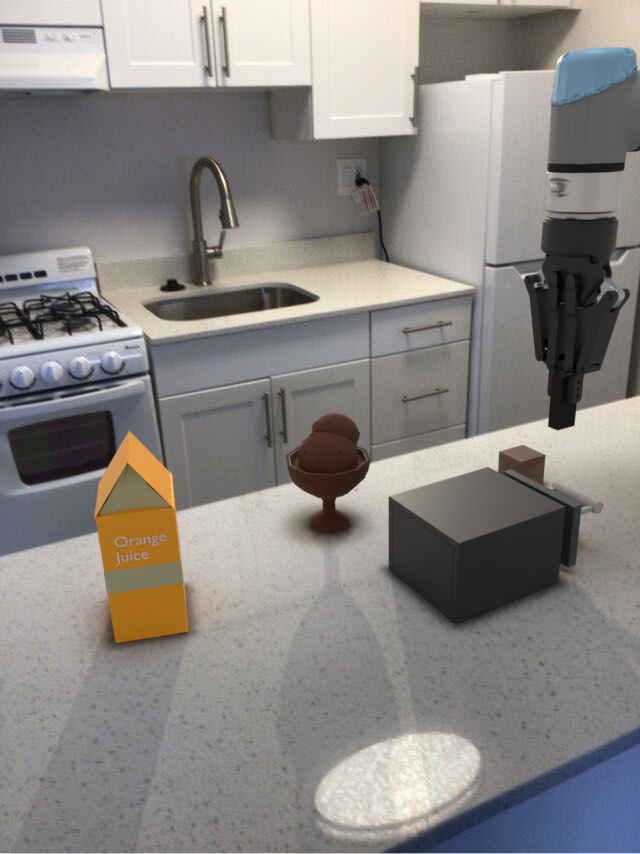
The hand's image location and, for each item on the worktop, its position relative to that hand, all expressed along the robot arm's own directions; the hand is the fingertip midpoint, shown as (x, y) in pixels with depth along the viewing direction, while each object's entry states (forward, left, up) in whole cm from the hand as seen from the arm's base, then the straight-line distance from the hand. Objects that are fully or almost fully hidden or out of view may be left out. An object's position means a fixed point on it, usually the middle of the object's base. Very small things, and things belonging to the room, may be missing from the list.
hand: (561, 426), depth 87 cm
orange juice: (+47, +11, -16) cm, 51 cm away
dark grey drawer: (+5, +3, -15) cm, 16 cm away
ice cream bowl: (+27, -8, -16) cm, 32 cm away
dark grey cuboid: (+11, +6, -16) cm, 20 cm away
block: (-1, -18, -16) cm, 24 cm away
